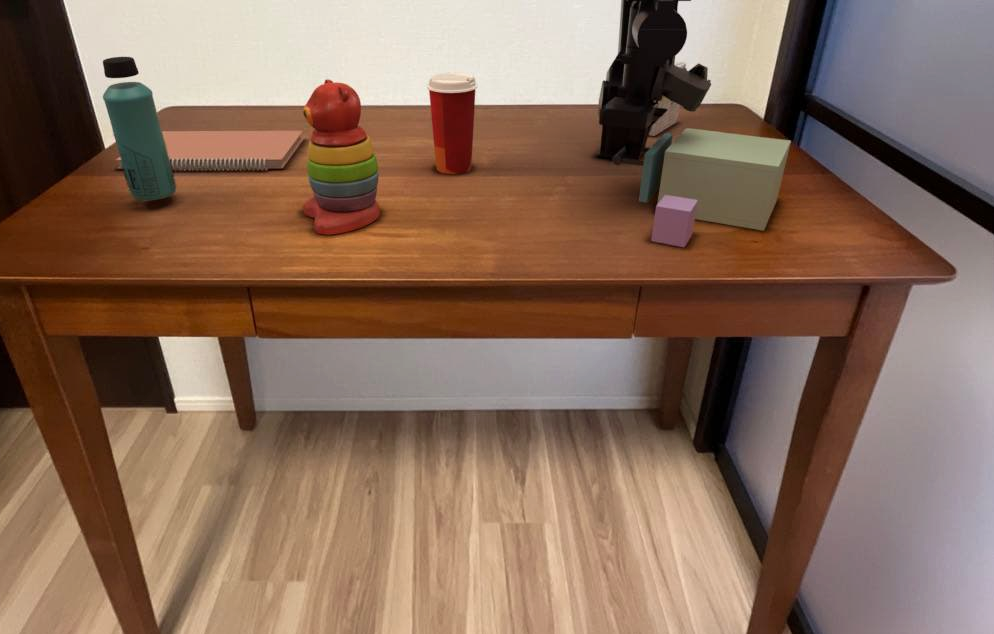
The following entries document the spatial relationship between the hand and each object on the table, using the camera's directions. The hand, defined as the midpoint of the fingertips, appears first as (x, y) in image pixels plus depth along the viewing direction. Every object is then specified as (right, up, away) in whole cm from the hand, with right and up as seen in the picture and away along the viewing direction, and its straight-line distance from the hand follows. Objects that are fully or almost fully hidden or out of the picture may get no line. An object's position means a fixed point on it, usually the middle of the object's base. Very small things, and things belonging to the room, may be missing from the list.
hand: (634, 162), depth 102 cm
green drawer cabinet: (+11, -7, -2) cm, 13 cm away
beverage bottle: (-69, -6, +2) cm, 70 cm away
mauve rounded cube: (+2, -13, -11) cm, 17 cm away
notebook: (-67, +6, +20) cm, 70 cm away
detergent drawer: (+6, -5, -1) cm, 8 cm away
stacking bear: (-41, -9, -3) cm, 42 cm away
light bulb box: (+10, +14, +30) cm, 35 cm away
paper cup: (-26, +2, +13) cm, 29 cm away
